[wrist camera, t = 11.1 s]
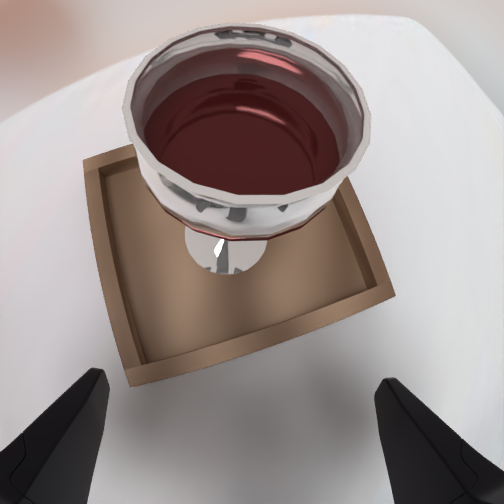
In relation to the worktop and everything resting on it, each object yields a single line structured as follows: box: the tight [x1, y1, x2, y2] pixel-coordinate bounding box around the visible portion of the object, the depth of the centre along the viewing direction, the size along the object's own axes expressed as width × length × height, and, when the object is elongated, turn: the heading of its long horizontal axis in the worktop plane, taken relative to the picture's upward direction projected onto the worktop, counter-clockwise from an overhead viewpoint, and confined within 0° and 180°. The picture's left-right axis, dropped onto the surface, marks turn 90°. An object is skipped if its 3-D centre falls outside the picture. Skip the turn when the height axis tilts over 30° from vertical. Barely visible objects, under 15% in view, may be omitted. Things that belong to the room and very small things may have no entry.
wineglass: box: [122, 23, 371, 275], centre depth 13 cm, size 7×7×12 cm
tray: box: [83, 144, 396, 388], centre depth 19 cm, size 16×14×2 cm
